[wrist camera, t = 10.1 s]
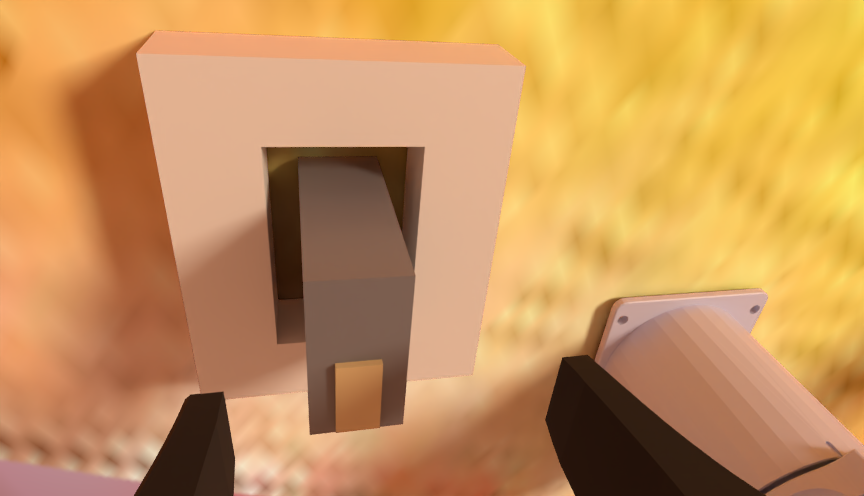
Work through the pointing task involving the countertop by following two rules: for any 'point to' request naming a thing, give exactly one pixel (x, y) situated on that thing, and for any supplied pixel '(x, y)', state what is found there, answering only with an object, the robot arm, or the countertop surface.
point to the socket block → (325, 127)
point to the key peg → (353, 295)
